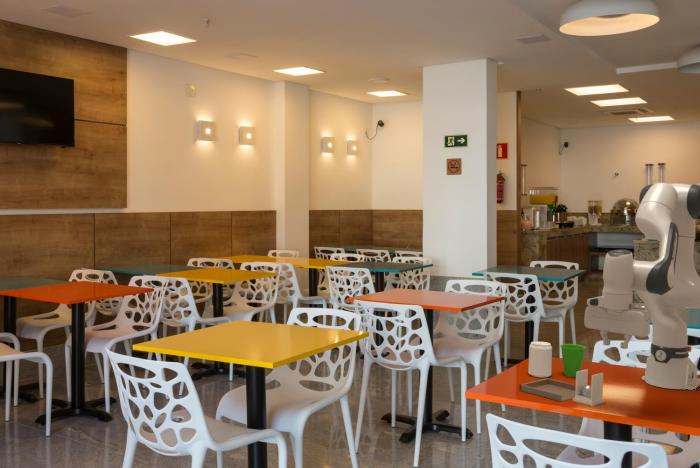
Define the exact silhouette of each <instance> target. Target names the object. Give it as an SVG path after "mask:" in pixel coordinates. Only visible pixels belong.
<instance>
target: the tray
mask: <svg viewBox="0 0 700 468" xmlns="http://www.w3.org/2000/svg"><path fill="white" fill-rule="evenodd" d="M518 386H519V387H518V388H519V390H520V391H519V390H518V391H519V392H523V393H524V392H525V393H527V394H530V395H535V396H538V397H542V398H546V399H549V400H553V401H556V402H564V401H565V402H566V401H568V400H571V399H572V400H573V398H575V389H576V384H573V383H570V382H566V381H561V380H557V379H552V378H548V377H545V378H542V379H539V380H533V381H531V382H530V381H529V382H526V383H521V384H518Z"/></svg>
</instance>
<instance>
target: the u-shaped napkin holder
mask: <svg viewBox="0 0 700 468" xmlns="http://www.w3.org/2000/svg"><path fill="white" fill-rule="evenodd" d="M588 378H589V369H583V370H580V371H578V372H576V377H575V385H576V389H575V398H572V401H573V402H576V403H581V404H584V405H588V406H591V407H594V406H597V405H599V404H601V405H602V404H603V403H606V401H605V399H604V397H603V394H604V372H600V373H596V374H592V375H591V382H590V383H591V384H590V385H591V398H587V397H583V396H582V394H581V389H582V387H583V386H585V385H588V383H589V382H588Z"/></svg>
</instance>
